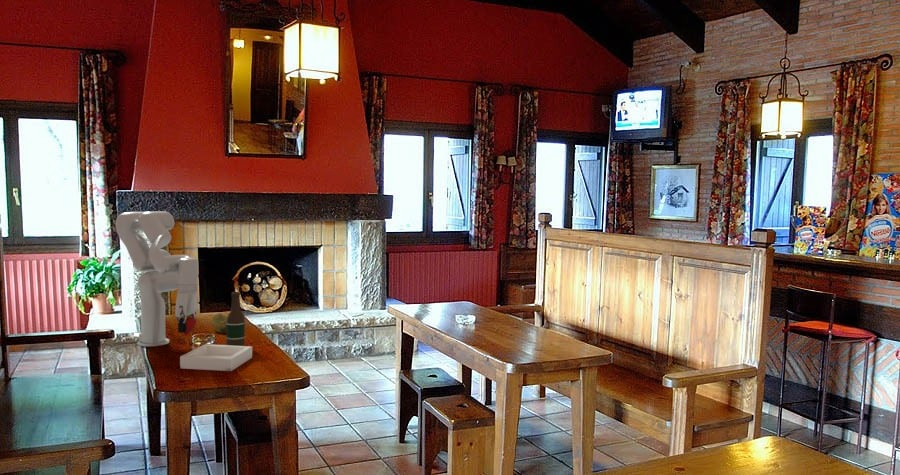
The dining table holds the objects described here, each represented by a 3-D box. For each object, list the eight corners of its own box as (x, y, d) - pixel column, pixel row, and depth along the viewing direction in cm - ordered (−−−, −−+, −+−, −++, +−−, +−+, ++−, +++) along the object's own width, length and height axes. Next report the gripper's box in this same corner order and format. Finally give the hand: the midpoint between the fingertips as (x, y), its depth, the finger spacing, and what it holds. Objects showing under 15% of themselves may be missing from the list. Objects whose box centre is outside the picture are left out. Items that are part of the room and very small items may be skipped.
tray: (180, 368, 246) (180, 356, 246) (204, 355, 266) (204, 344, 266) (231, 371, 245) (231, 359, 244) (252, 357, 264) (252, 346, 264)
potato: (214, 335, 301) (214, 318, 301) (211, 329, 313) (211, 313, 312) (232, 333, 305) (232, 316, 304) (229, 328, 317) (229, 312, 316)
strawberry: (197, 336, 269) (198, 312, 268) (178, 337, 265) (178, 313, 264) (194, 332, 274) (195, 309, 273) (175, 334, 269) (176, 310, 268)
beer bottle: (239, 350, 275) (239, 294, 273) (222, 349, 276) (222, 293, 275) (248, 346, 283) (248, 291, 281) (232, 344, 284) (232, 290, 282)
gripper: (189, 283, 276) (188, 324, 278) (167, 290, 259) (166, 334, 261) (206, 284, 275) (205, 326, 277) (186, 292, 258) (184, 336, 260)
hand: (186, 329), depth 269 cm, fingers closed on strawberry, 6 cm apart
